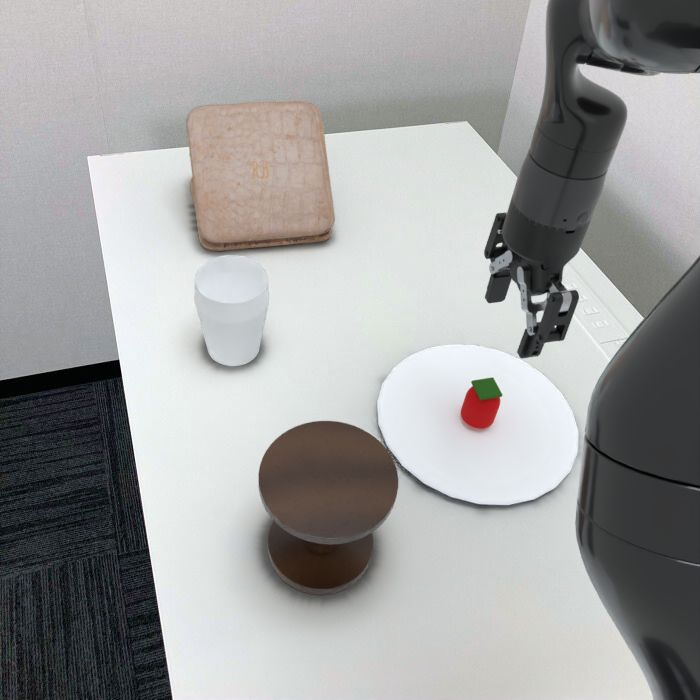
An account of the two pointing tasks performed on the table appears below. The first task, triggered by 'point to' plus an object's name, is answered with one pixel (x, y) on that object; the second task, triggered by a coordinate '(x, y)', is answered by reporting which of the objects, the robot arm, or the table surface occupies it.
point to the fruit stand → (325, 503)
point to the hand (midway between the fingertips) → (510, 327)
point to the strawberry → (481, 403)
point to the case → (259, 174)
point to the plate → (472, 443)
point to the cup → (232, 307)
